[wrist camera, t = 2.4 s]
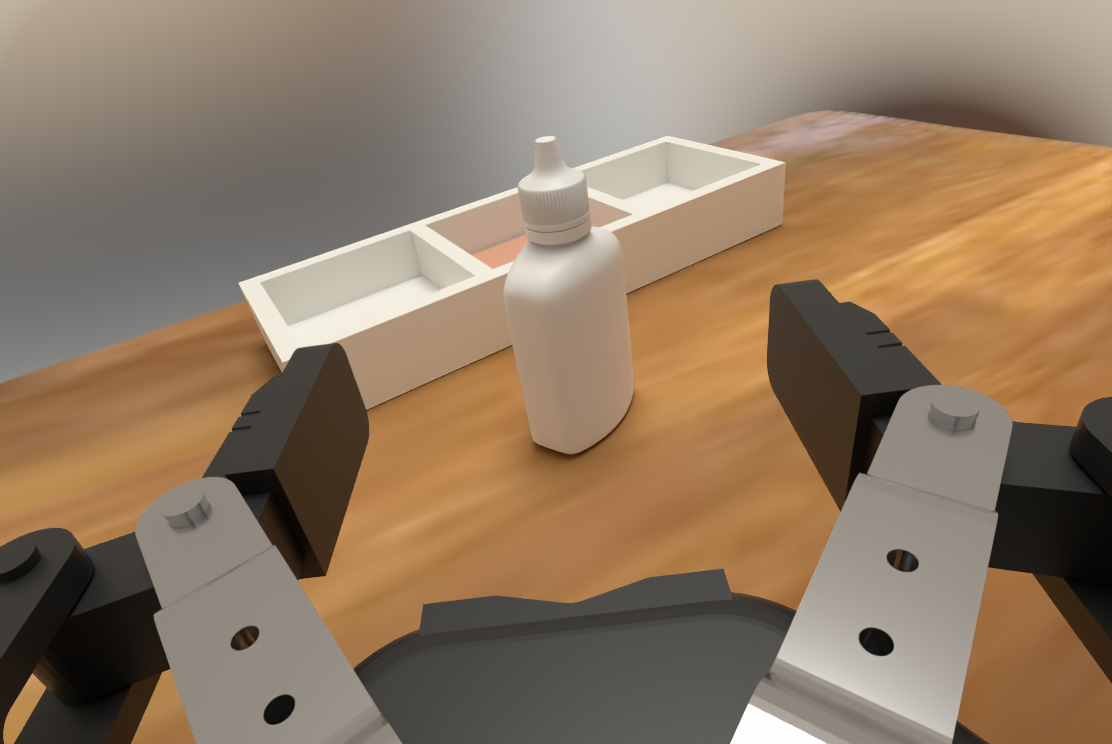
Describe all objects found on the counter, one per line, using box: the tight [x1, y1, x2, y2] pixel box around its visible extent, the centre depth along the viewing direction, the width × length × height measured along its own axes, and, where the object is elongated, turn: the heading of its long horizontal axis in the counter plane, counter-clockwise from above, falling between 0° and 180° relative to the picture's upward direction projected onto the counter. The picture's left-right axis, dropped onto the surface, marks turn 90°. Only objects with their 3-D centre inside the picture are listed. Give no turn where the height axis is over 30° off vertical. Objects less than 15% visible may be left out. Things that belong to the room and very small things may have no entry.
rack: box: [239, 136, 786, 410], centre depth 39 cm, size 31×11×4 cm, turn 123°
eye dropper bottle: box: [503, 136, 634, 454], centre depth 26 cm, size 4×6×12 cm
